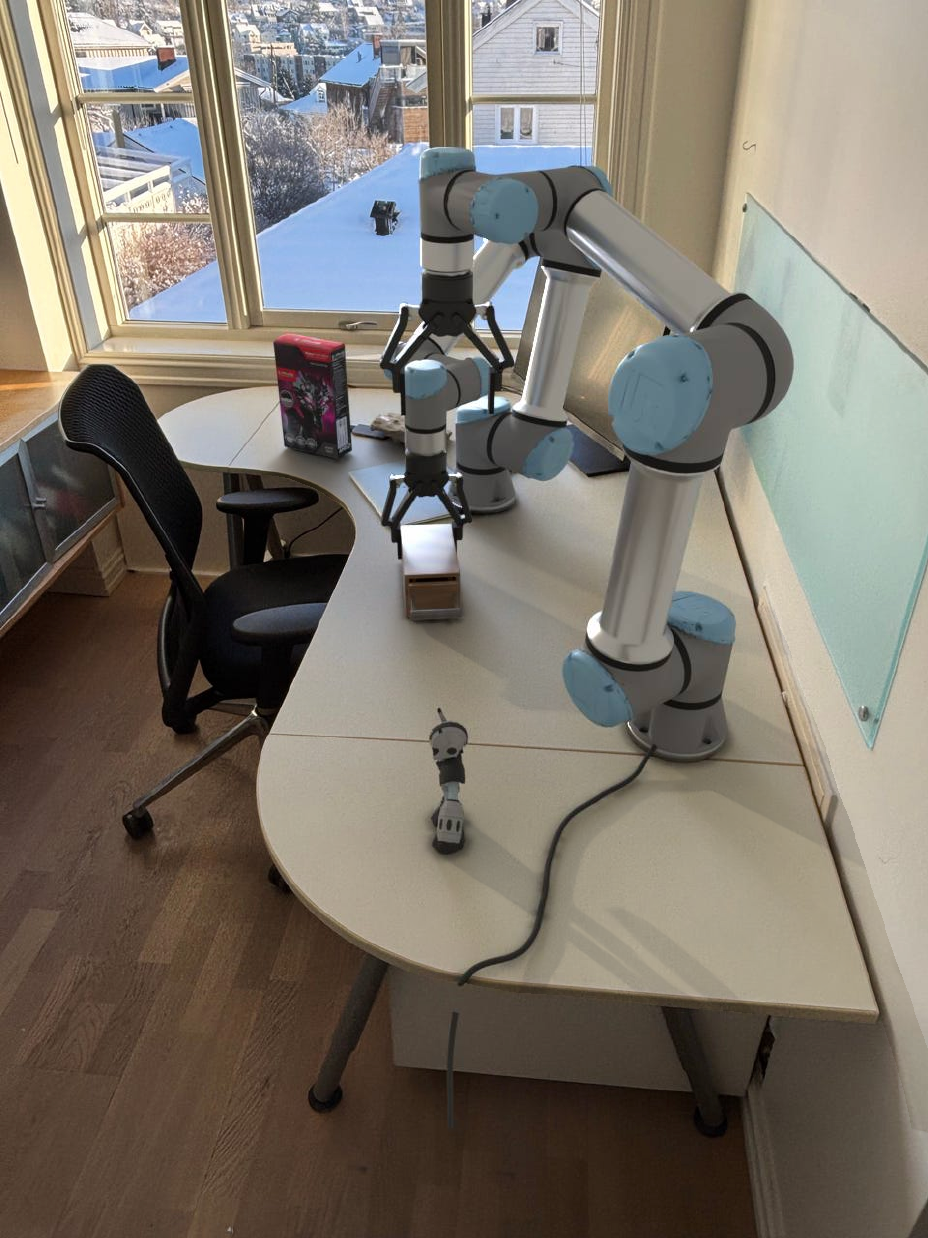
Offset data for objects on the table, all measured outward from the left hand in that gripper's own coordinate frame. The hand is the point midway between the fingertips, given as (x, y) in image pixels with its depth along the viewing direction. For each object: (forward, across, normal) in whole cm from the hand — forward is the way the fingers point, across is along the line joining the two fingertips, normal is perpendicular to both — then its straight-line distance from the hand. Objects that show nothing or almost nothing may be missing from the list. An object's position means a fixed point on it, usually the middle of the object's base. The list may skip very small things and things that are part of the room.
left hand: (427, 554), depth 180 cm
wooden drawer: (+3, 0, +12) cm, 13 cm away
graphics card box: (+4, +24, -62) cm, 66 cm away
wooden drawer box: (+4, 0, +6) cm, 7 cm away
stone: (+4, +1, -65) cm, 65 cm away
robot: (+4, +2, +68) cm, 69 cm away
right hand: (-37, -2, +20) cm, 42 cm away
